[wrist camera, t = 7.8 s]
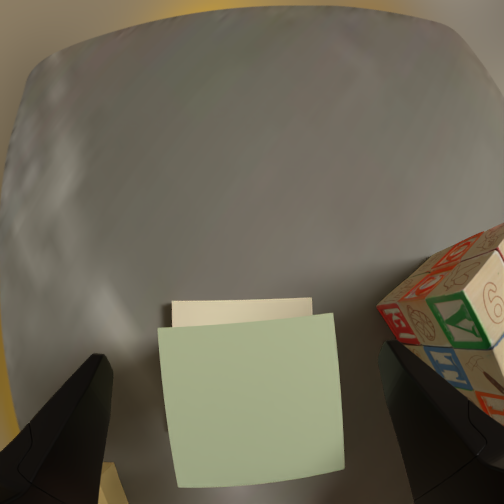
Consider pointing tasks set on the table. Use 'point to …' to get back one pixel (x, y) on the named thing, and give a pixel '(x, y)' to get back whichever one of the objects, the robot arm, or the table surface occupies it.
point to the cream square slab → (237, 311)
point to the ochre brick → (111, 486)
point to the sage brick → (252, 401)
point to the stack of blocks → (457, 317)
